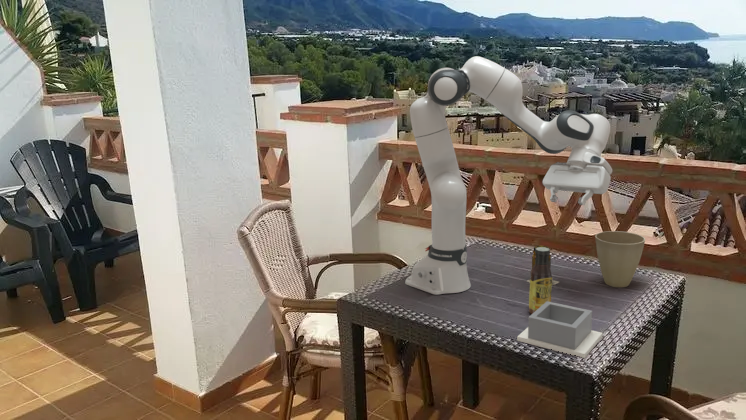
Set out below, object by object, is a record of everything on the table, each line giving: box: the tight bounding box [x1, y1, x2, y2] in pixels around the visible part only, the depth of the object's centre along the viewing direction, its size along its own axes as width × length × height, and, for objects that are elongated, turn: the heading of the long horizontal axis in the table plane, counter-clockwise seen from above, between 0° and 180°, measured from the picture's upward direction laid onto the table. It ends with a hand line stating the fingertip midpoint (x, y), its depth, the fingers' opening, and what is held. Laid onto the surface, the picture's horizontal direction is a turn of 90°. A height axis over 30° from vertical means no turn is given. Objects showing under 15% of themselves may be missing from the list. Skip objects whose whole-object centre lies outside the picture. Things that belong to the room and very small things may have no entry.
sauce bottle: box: [528, 247, 553, 315], centre depth 171 cm, size 7×6×20 cm
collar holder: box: [516, 301, 604, 359], centre depth 156 cm, size 18×14×7 cm
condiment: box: [525, 245, 560, 286], centre depth 196 cm, size 7×8×12 cm
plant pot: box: [594, 230, 646, 288], centre depth 191 cm, size 15×15×16 cm
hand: (566, 202), depth 175 cm, fingers open, 8 cm apart
